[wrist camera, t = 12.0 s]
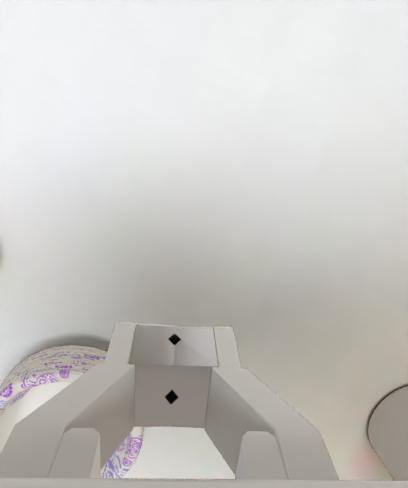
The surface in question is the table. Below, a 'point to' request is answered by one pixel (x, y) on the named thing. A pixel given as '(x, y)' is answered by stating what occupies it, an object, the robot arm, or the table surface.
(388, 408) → the cylinder vase
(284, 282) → the table surface
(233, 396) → the robot arm
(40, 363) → the paper bowls
